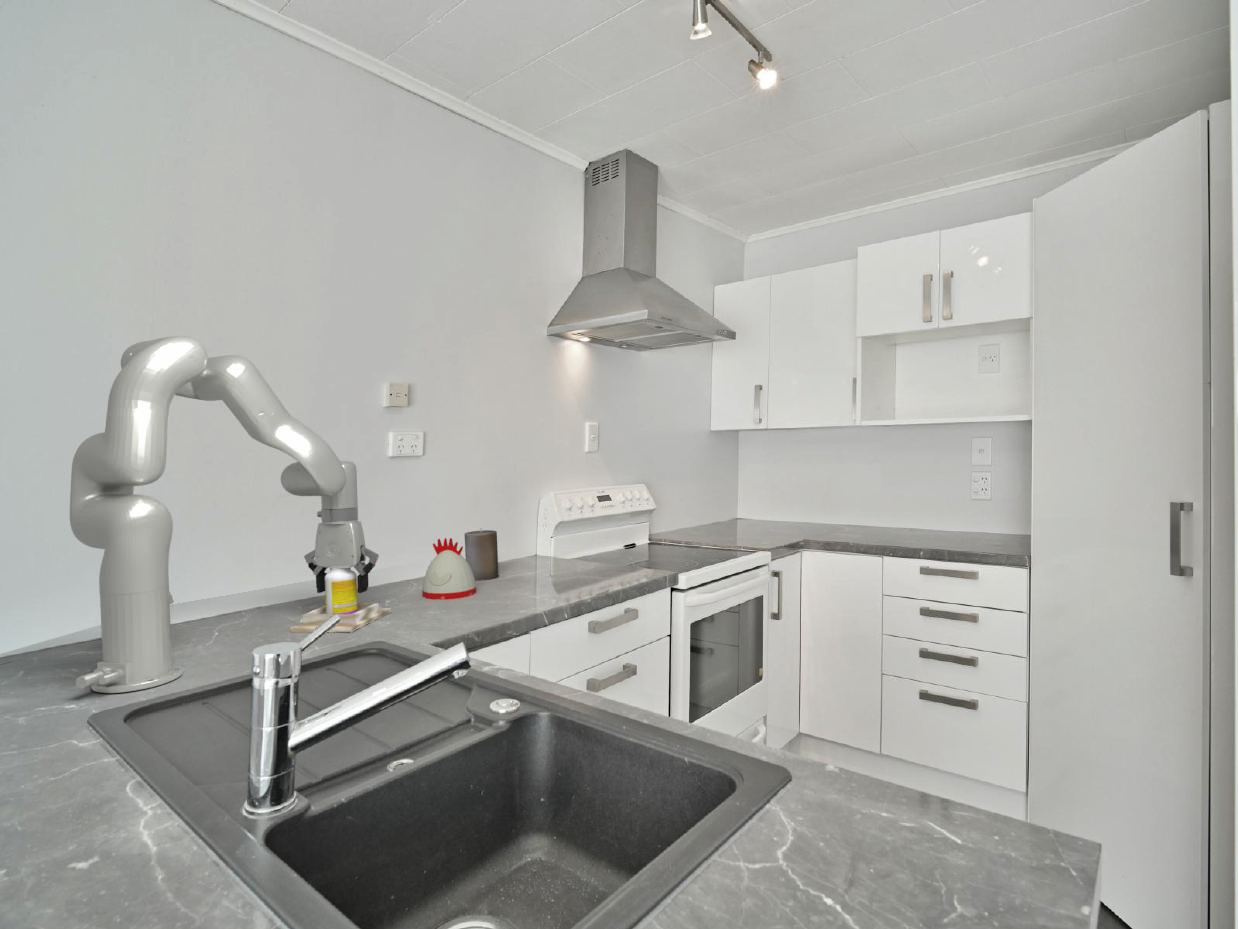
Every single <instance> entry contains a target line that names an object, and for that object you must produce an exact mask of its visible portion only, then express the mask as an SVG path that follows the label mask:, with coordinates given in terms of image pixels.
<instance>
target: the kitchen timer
mask: <svg viewBox="0 0 1238 929" xmlns="http://www.w3.org/2000/svg"><path fill="white" fill-rule="evenodd" d="M458 544H459V543H458V541H456V542H454V543H453V538H452V537H450V538H449V540H447V537H446V538H444V540H443V544H442V540H441V538H438V539H437V545H436V543H432V547H433V549H434V551H435V553H436V555H435V557H434V558H433V559H432V560H431V561H430V564H429V565H428V566H427V569H426V572H425V575H424V579H423V583H422V588H421V589H422V590H421V591H422V593H421V594H422V597H423V598H424V597H425V598H424V599H428V600H436V599H439V601H440V600H454V599H455V600H456V599H463V598H467V597H470V596H474V595H475V594H476V592H477V584H476V580H475V579H474V576H473V573H472V570H471V568H470V566H469V564H468V562H467V561H466V557H464V556H463V555H462V554H461V553H462V551H463V550H464V549H463V548H464V546H461V547H460V548H459V550H458V549H457V548H458Z"/></svg>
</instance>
